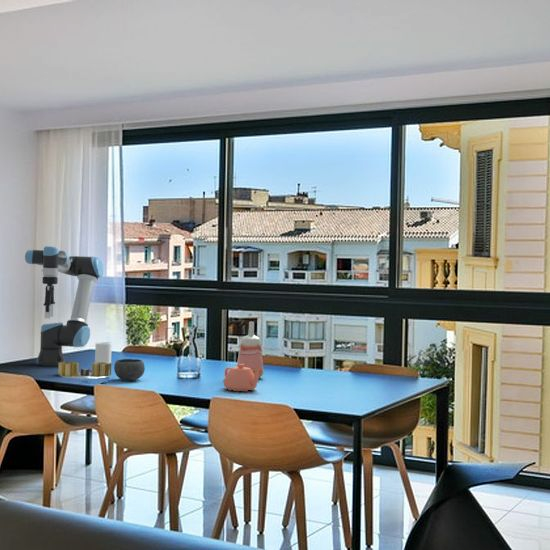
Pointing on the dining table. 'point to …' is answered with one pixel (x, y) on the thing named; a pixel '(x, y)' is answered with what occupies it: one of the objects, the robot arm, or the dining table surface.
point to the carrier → (84, 375)
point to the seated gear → (101, 369)
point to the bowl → (129, 369)
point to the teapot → (241, 378)
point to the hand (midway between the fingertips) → (48, 317)
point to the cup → (103, 352)
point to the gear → (68, 368)
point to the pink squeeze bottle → (251, 351)
